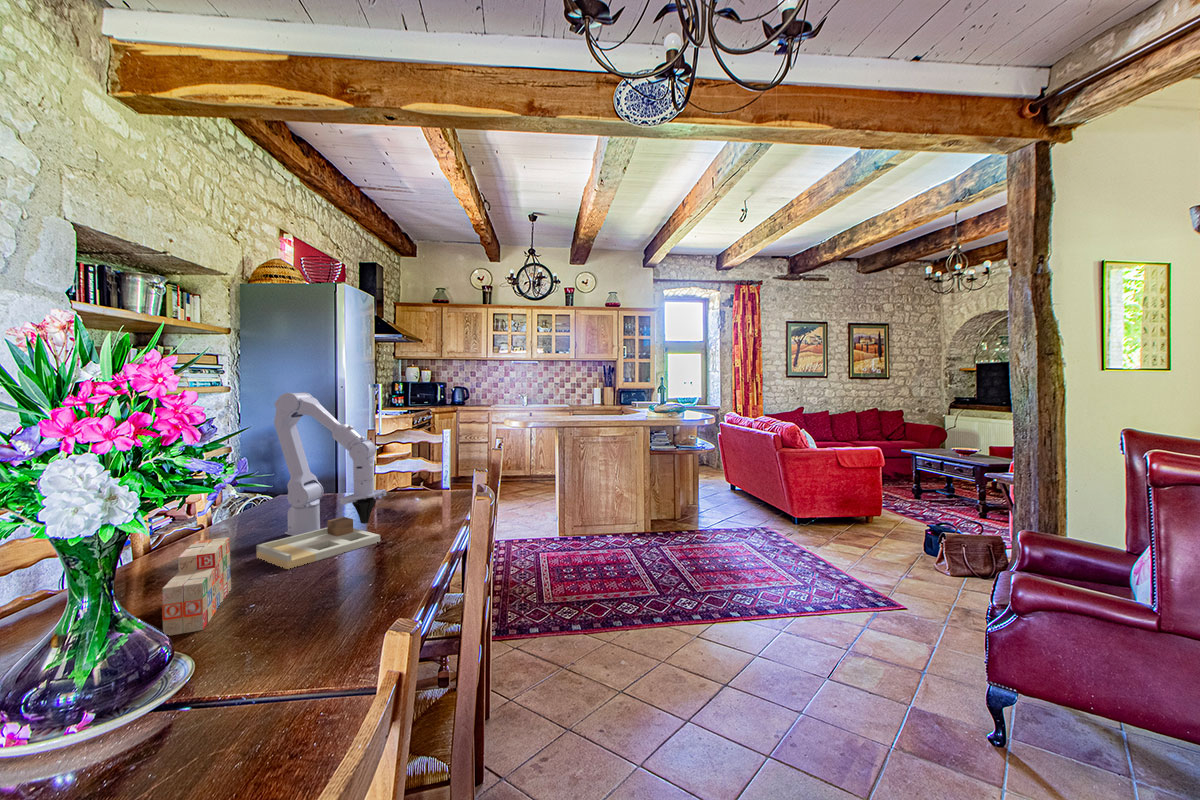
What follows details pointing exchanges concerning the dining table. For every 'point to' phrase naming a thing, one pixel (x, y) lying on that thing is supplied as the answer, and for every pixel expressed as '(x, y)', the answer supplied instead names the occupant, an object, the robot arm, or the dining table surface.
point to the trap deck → (312, 547)
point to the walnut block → (340, 526)
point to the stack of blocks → (197, 586)
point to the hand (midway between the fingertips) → (364, 522)
